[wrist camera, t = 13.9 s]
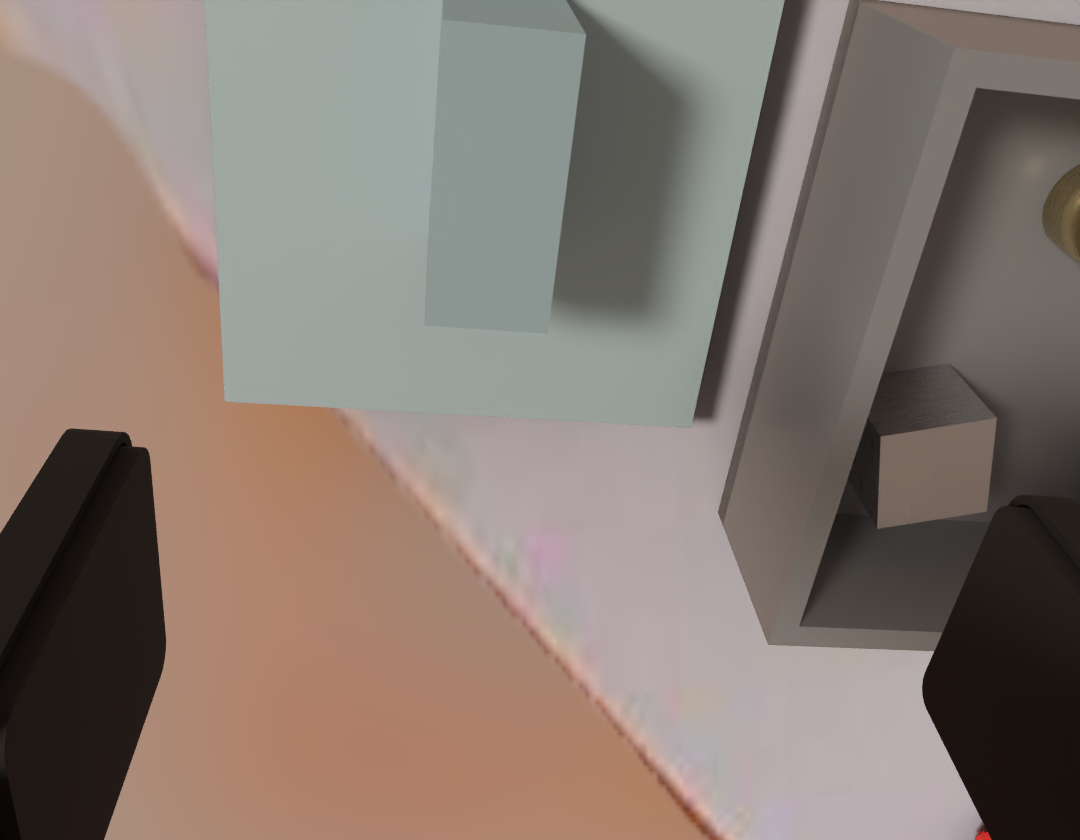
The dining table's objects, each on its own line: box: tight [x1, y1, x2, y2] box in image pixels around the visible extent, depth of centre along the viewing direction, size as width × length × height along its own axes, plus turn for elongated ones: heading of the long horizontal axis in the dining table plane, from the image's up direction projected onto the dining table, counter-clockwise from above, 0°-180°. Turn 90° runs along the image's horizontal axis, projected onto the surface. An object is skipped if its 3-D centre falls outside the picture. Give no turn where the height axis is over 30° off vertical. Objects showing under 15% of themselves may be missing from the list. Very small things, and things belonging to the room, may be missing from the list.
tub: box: [718, 0, 1080, 651], centre depth 31 cm, size 14×18×7 cm
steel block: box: [848, 363, 997, 529], centre depth 34 cm, size 4×4×4 cm
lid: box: [205, 0, 785, 428], centre depth 27 cm, size 15×19×8 cm
